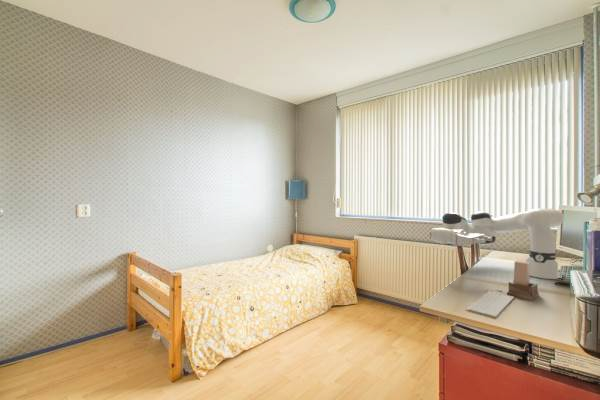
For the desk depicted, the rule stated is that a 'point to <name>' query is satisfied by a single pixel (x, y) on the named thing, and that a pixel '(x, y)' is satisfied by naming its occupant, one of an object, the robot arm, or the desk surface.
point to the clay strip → (522, 273)
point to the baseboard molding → (490, 304)
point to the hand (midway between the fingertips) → (488, 240)
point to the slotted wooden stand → (523, 291)
